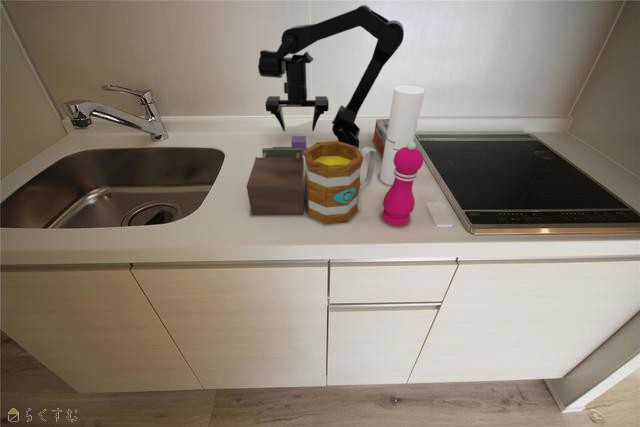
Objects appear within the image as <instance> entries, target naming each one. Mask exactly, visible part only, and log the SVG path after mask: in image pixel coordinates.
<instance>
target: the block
mask: <svg viewBox="0 0 640 427" xmlns="http://www.w3.org/2000/svg"><path fill="white" fill-rule="evenodd" d="M291 147H296V148H302V152H303V156H305V154H304V150H306V149H307V136H306V135H292V136H291Z"/></svg>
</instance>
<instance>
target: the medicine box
mask: <svg viewBox="0 0 640 427" xmlns="http://www.w3.org/2000/svg"><path fill="white" fill-rule="evenodd" d="M388 124H389V118H376V119H375V125H374V131H373V132H374V133H373V142H374V143H375V145H376V147H377V149H378V151H379V152H380V154H381V156H382V157H383V155H384V149H385V142H386V136H387V130H388Z"/></svg>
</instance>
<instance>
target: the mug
mask: <svg viewBox="0 0 640 427" xmlns="http://www.w3.org/2000/svg"><path fill="white" fill-rule="evenodd" d="M304 154H305V155H304V161H305V171H304V184H305V194H306V197H305V207H306V213H307V216H308V217H310V218H312V219H315V220H317V221H318V222H321V223H323V224H326V225H327V224H329V225H330V224H336V223H346V222H348V221H349V220H350V219H351V218H352V217H353V216H354V215H355V214H356V213H357V212H358V198H359V197H358V196H359V192H360V191H364V190H366V189H367V188H368V187H369V186H370V185H371V183H372V180H373V177H374V170H375V165H376V161H377V150H376V149H375V148H374V147H370V146H368V145H366V146H364V147H363V148H362V149H358V147H356V146H353V145H349V144H346V143H343V142H339V141H338V140H337V141H336V140H335V141H320V142H315V143H314V144H312V145H311V146H309V147H308V148H306V150H304ZM368 154H369V159H368V164H367V168H366V169H367V170H366V175H365V176H366V177H365V179H364V180H363V182H362V183H361V171H362V165H363V160H364V159H365V157H366V156H367V155H368Z"/></svg>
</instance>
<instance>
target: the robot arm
mask: <svg viewBox="0 0 640 427" xmlns="http://www.w3.org/2000/svg"><path fill="white" fill-rule="evenodd" d="M358 27H360V28H361V29H364V30H365V31H366V32H367V33H369V34H370V35H371V36H372V37H373V38H375V39H377V41H376V43H375V47H374V50H373V53H372V57H371V59H370V60H369V63H368V65H367V66H366V69H365V70H364V72H363V74H362V77H361V78H360V80H359V82H358V84H357V86H356V88H355V90H354V92H353V93H352V95H351V98H350V99H349V102H348V103H347V104H346V105H345V106H344V105H342V104H341V105H339V108H338V109H337V112H336V114H335V116H334V117H333V119H332V122H331V125H332V128H331V130H332V133H333V135H334V136H335V137H336V139H337V141H339V142H343V143H346V144H349V145H353V146H356V147H358V149H359V148H360V139H359V136H360V132H361V129H360V127H359V126H358V125H357V124H356V119H357V117H358V114H359V111H360V109H361V107H362V105H363V103H364V102H365V101H366V98H367V96H368V95H369V93H370V92H371V89H372V87H373V86H374V84H375V83H376V80H377V78H378V76H379V74H380V73H381V72H382V69H383V67H384V66H385V65H386V63H387V62H388V61H389V60H390V59H391V58H392V57H393V55H394V54H395V53H396V52H397V50H398V49H399V48H400V47H401V45H402V43H403V41H404V35H405V28H404V26H403V25H402V23H401V22H400V21H399V20H395V19H393V20H389V19H387V18H386V17H384V16H382V15H381V14H379V13H378V12H375V11H374V10H372V9H371V7H369V6H368V5H366V4H362V5H359V7H356V8H355V9H352V10H349V11H347V12H344V13H341V14H339V15H336V16H333V17H331V18H328V19H324V20H323V21H319V22H317V23H309V24H302V25H295V26H292V27H290V28H287V29H286V30H284V31H283V33H282V35H281V40H280V42H281V43H280V44H279V47H278V49H277V50H276V51H275V50H268V49H262V50H260V51H259V59H258V65H257V69H258V73H259V75H260V77H262V78H274V79H281V78H283V75H285V74H286V75H285V77H286V81H283V93H284V94H286V95H287V99H281V96H280V95H279V96H277V95H274V96H273V95H269V96H268V97H267V98H266V99H265V100H266V101H265V111H266V112H270V114H271V115H274V116H275V118H276V119H277V121H278V123H279V125H280V127H281V129H282V131H283V132H285V131H286V124H285V118H284V113H283V108H313V116H312V125H311V126H312V127H311V132H314V131H315V128H316V126H317V123H318V120H319V119H320V117H321V115H324V114H325V112H329V109H330V108H329V106H330V105H329V98H328V97H327V96H326V95H324V96H323V95H322V96H319V95H315V99H308V88H307V64H311V63H312V62H313V61H314V58H313V57H312V56H311V54H309V52H308V51H305V52H304V53H303V54H298V53H299V52H301V51H303V50H305V49H306V48H308V47H309V46H312V44H314V43H317V42H318V41H321V40H323V39H326V38H330V37H332V36H335V35H338V34H340V33H341V34H342V33H343V32H347V31H349V30H352V29H355V28H358ZM288 55H291V57H287V56H288ZM359 150H360V149H359Z"/></svg>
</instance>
